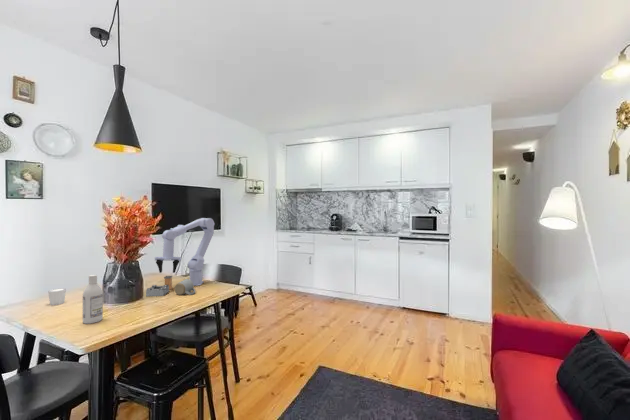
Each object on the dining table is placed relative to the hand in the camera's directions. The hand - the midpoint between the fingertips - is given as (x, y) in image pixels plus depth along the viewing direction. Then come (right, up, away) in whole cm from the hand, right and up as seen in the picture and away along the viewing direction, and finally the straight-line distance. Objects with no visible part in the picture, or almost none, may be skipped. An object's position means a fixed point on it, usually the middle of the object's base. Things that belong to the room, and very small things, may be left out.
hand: (167, 272), depth 176 cm
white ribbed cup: (-44, -11, -26) cm, 52 cm away
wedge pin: (0, -11, +1) cm, 11 cm away
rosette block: (-1, -11, -8) cm, 13 cm away
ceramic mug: (+15, -11, -7) cm, 20 cm away
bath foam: (-8, -11, -49) cm, 51 cm away
